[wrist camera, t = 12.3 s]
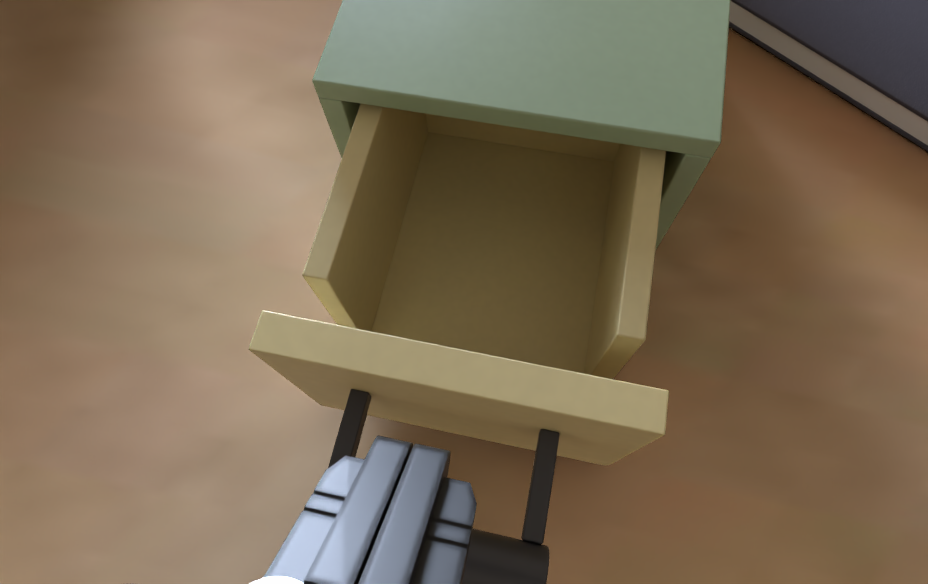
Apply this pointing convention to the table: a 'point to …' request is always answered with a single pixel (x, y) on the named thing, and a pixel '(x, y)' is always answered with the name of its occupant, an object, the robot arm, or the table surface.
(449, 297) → the drawer
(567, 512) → the table surface
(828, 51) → the notebook
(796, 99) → the table surface
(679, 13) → the cabinet
